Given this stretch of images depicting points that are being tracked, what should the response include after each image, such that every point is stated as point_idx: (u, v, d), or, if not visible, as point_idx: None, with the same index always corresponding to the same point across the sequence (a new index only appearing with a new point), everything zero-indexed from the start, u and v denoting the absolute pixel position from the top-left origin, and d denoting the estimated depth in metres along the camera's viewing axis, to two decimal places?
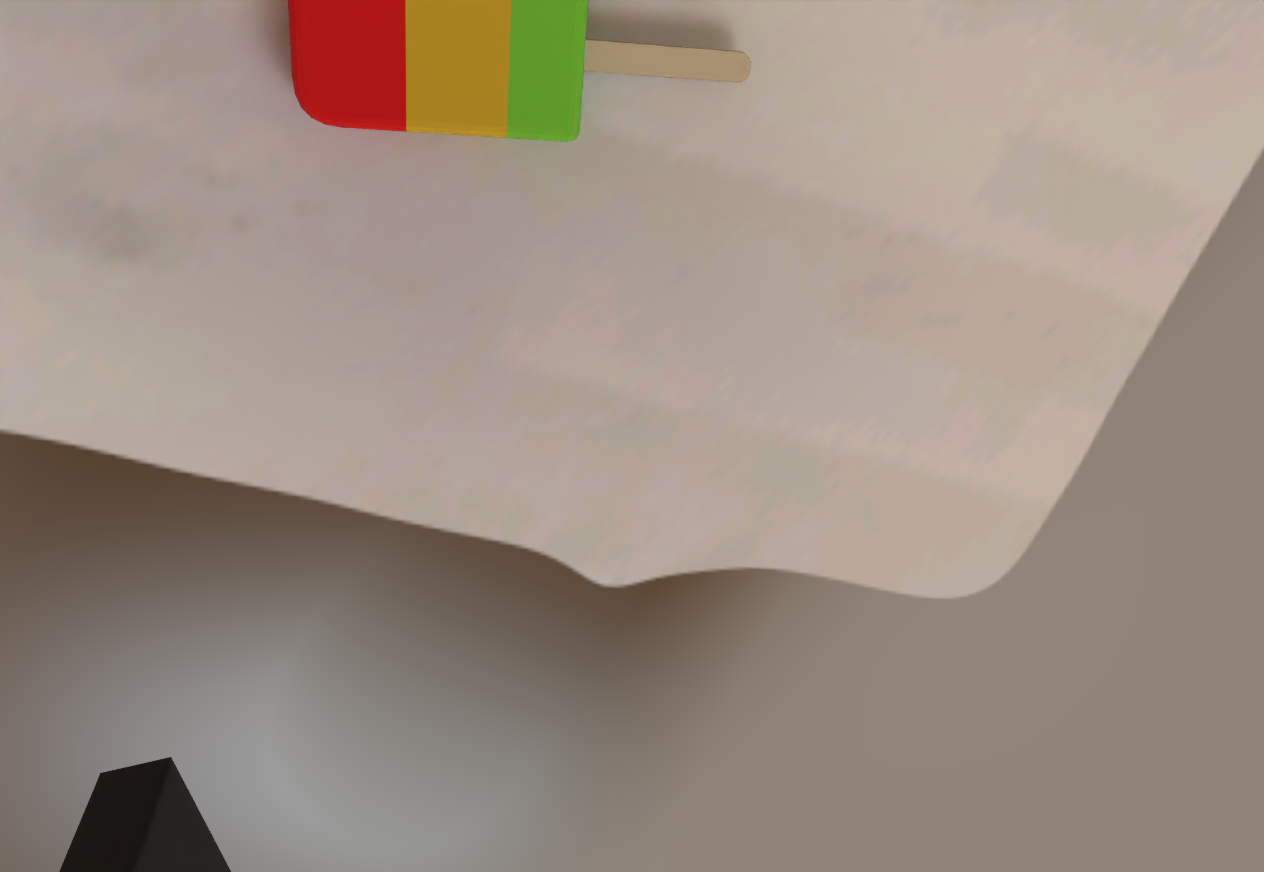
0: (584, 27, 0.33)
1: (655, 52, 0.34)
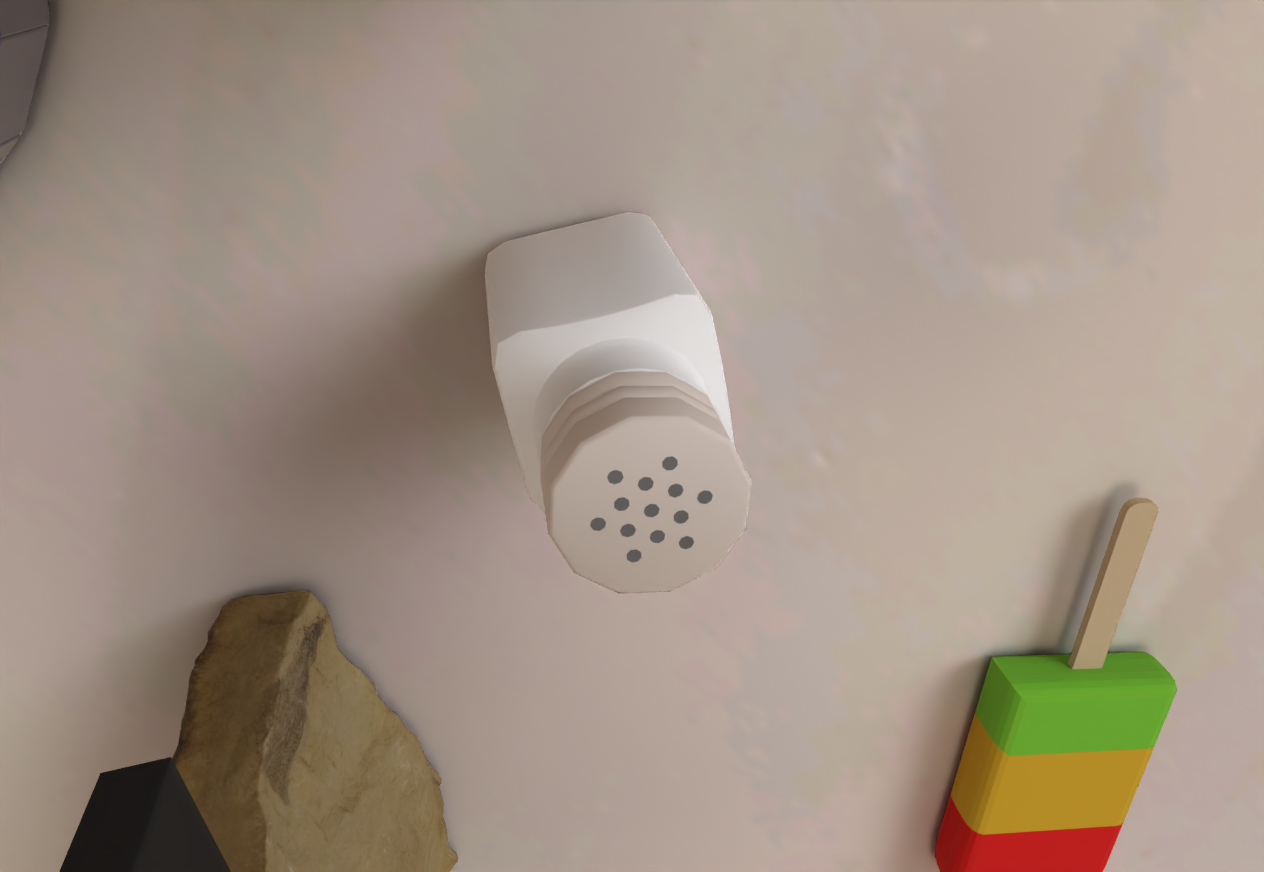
0: (1069, 687, 0.30)
1: (1102, 602, 0.29)
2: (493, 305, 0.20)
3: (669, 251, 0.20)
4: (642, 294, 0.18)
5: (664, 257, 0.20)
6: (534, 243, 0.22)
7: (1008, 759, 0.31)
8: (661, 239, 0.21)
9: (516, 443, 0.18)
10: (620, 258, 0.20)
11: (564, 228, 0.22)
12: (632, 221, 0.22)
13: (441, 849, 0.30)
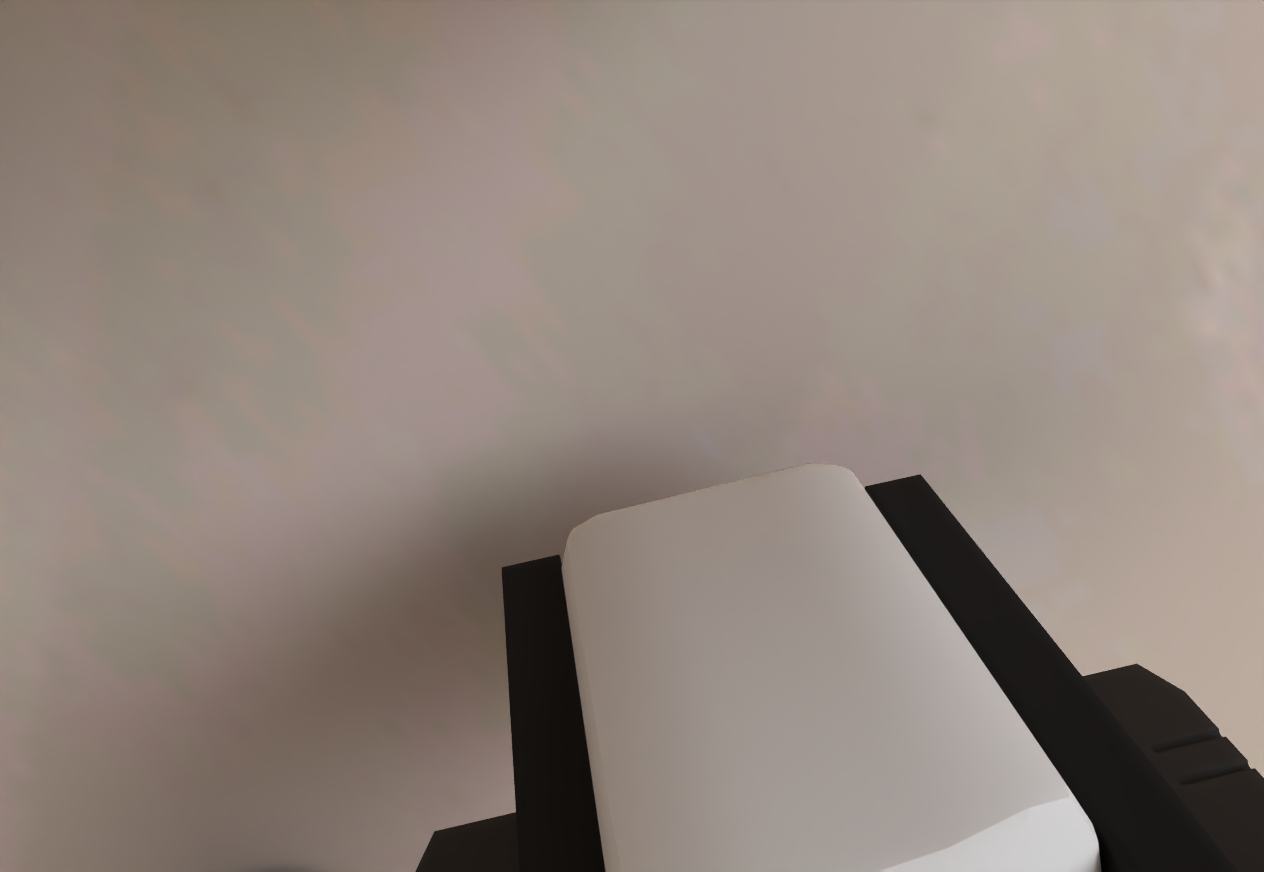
0: None
1: None
2: (600, 735, 0.10)
3: (939, 604, 0.10)
4: (949, 793, 0.08)
5: (942, 634, 0.10)
6: (656, 538, 0.12)
7: None
8: (907, 558, 0.11)
9: None
10: (850, 628, 0.10)
11: (705, 499, 0.13)
12: (835, 499, 0.12)
13: None
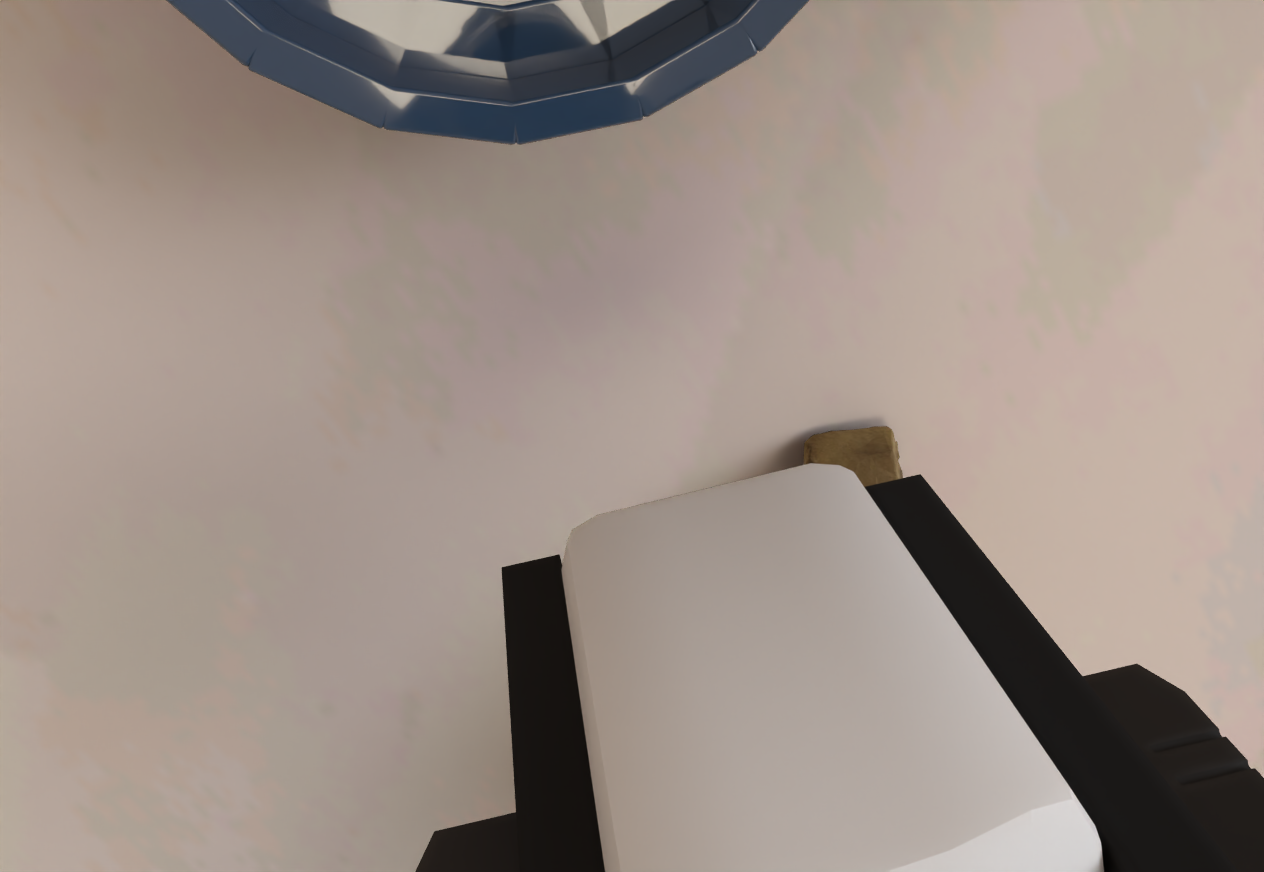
0: None
1: None
2: (601, 736, 0.10)
3: (941, 605, 0.10)
4: (950, 796, 0.08)
5: (944, 635, 0.10)
6: (657, 538, 0.12)
7: None
8: (908, 559, 0.11)
9: None
10: (852, 629, 0.10)
11: (706, 499, 0.12)
12: (836, 500, 0.12)
13: None
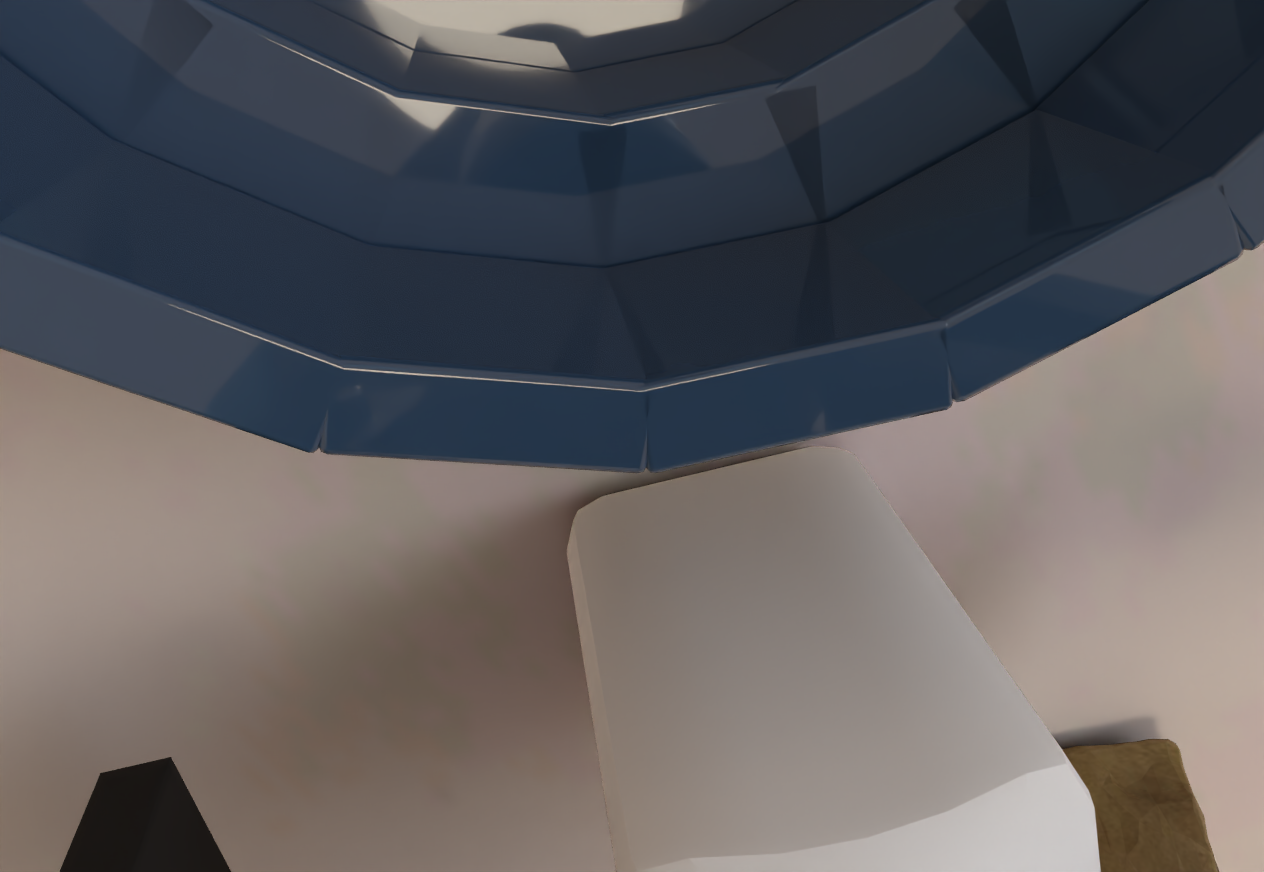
0: None
1: None
2: (607, 706, 0.10)
3: (940, 581, 0.11)
4: (949, 760, 0.08)
5: (942, 609, 0.10)
6: (661, 517, 0.12)
7: None
8: (908, 537, 0.11)
9: None
10: (852, 603, 0.10)
11: (709, 480, 0.13)
12: (838, 480, 0.12)
13: None
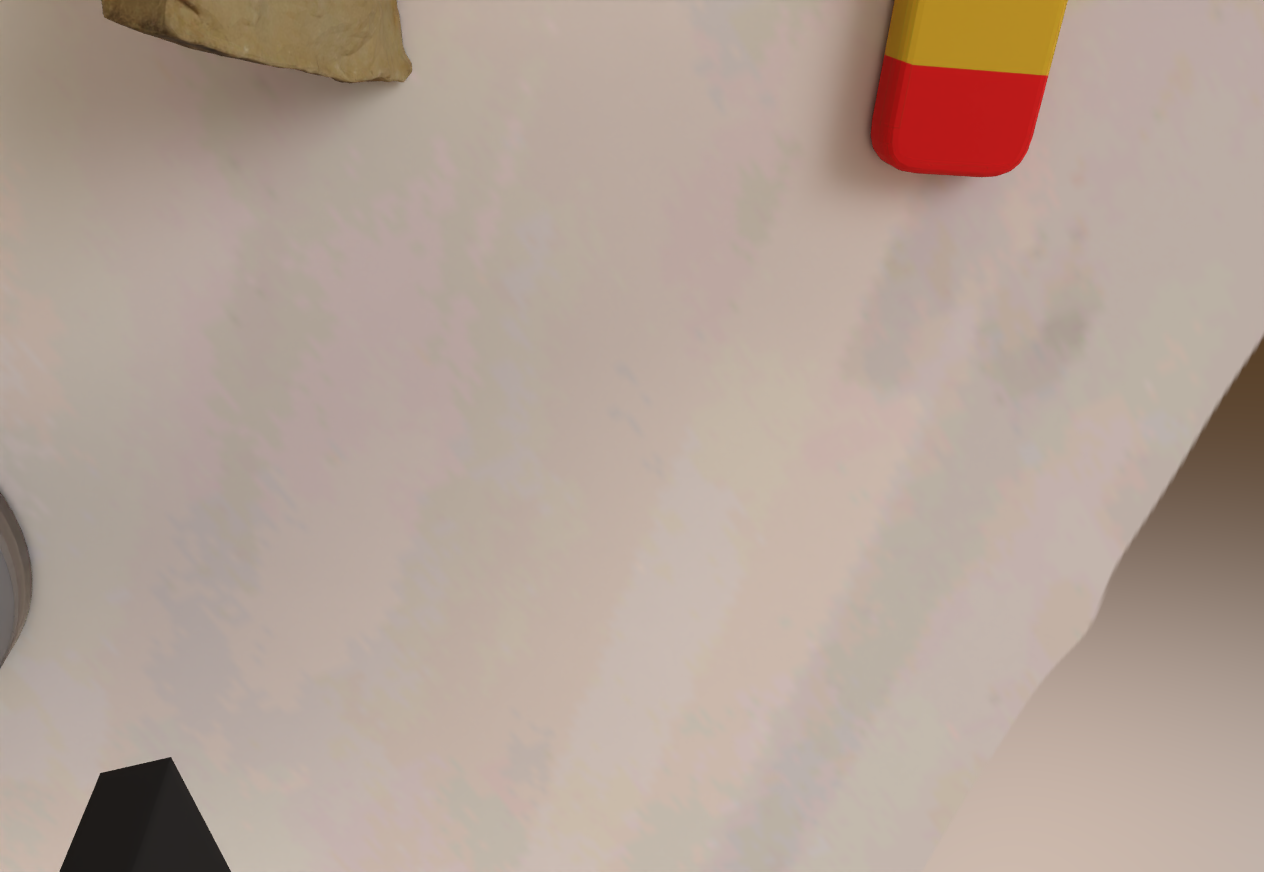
0: None
1: None
2: None
3: None
4: None
5: None
6: None
7: None
8: None
9: None
10: None
11: None
12: None
13: (395, 37, 0.32)
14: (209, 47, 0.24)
